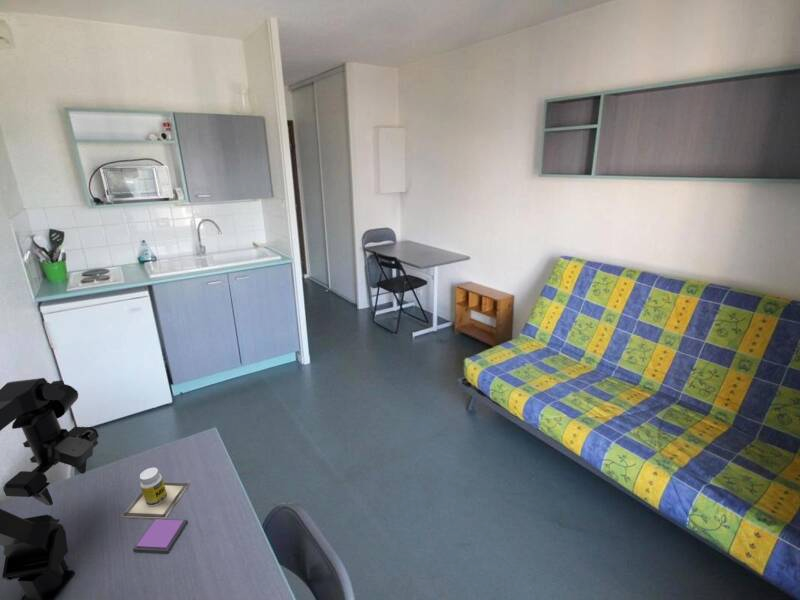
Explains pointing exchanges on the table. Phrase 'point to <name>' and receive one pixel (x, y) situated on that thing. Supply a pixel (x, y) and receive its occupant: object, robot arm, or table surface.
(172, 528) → the ink pad
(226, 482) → the table surface
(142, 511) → the marked board
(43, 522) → the robot arm
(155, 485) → the supplement bottle
